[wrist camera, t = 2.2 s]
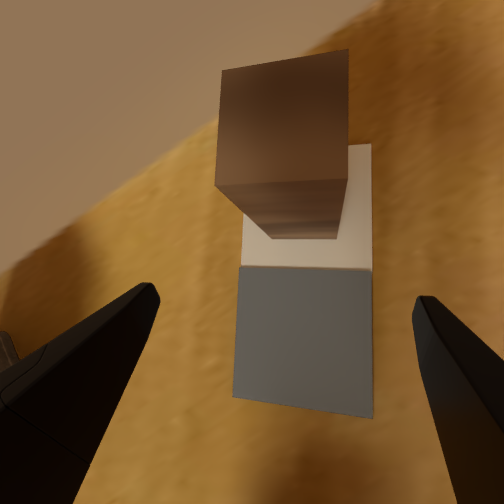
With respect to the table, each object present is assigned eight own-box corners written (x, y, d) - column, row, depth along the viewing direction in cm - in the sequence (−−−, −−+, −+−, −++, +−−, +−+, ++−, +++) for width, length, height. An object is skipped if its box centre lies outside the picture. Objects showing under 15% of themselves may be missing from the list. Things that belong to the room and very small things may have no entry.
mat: (371, 415, 19) (372, 418, 19) (235, 394, 22) (232, 397, 21) (370, 271, 21) (371, 271, 20) (241, 267, 23) (239, 267, 23)
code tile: (371, 273, 21) (372, 273, 20) (242, 269, 23) (240, 269, 23) (370, 146, 22) (371, 143, 21) (248, 156, 24) (246, 153, 24)
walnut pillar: (336, 239, 21) (348, 178, 10) (271, 239, 22) (214, 185, 11) (337, 176, 22) (348, 49, 10) (274, 180, 23) (222, 70, 12)
